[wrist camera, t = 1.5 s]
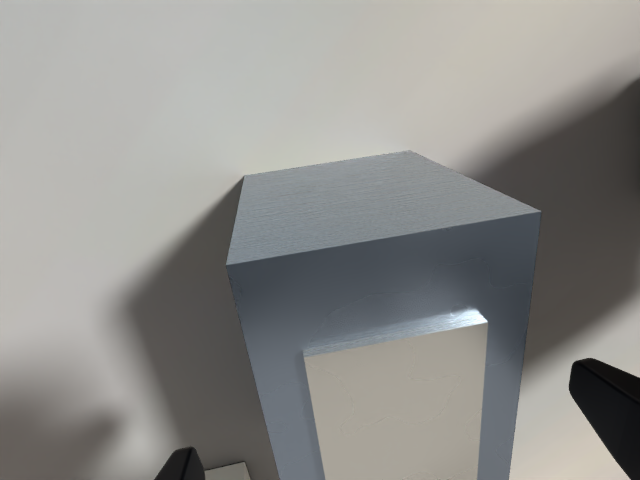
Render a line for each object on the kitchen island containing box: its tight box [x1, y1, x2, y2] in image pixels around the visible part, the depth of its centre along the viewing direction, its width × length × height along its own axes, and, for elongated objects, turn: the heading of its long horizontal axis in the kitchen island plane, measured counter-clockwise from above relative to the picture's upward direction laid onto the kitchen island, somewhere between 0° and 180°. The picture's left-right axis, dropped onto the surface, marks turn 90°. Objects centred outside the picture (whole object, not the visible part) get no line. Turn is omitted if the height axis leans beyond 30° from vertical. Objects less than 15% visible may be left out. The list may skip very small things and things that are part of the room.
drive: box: [226, 150, 542, 480], centre depth 10 cm, size 5×10×6 cm, turn 7°
